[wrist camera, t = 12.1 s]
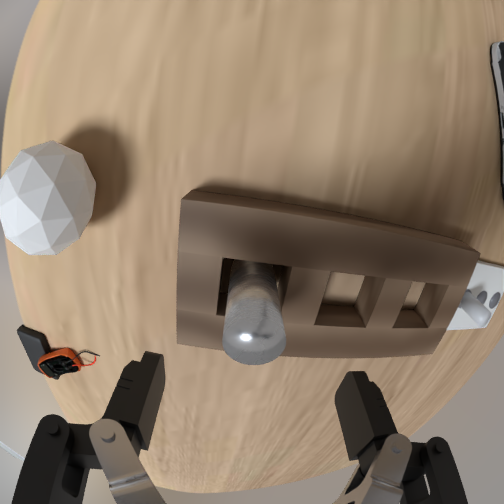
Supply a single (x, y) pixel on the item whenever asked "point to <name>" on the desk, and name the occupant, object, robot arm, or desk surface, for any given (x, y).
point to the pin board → (319, 276)
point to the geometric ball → (46, 198)
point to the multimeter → (48, 355)
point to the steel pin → (253, 314)
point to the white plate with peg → (479, 297)
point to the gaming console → (499, 93)
